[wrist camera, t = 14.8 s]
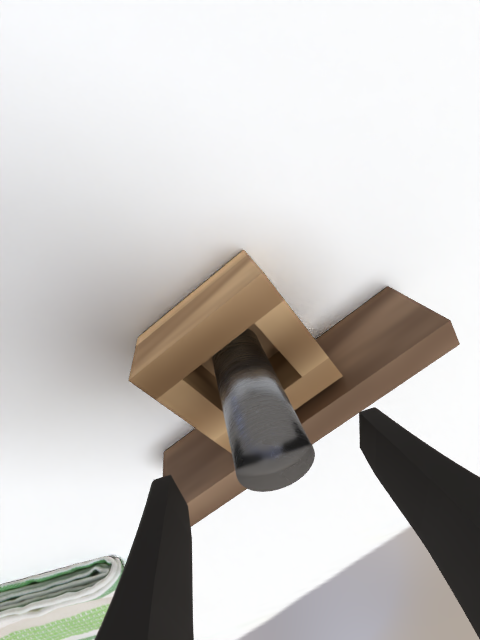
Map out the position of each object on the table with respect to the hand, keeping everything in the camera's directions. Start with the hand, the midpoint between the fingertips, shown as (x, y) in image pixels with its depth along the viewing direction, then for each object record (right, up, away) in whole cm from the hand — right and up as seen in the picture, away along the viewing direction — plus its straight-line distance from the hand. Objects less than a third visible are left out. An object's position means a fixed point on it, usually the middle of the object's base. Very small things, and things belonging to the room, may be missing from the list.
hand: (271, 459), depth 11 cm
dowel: (-1, +3, +7) cm, 8 cm away
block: (-2, +4, +8) cm, 9 cm away
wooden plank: (+1, +1, +10) cm, 10 cm away
